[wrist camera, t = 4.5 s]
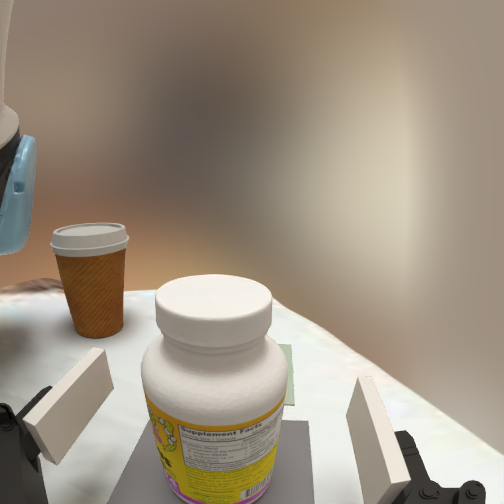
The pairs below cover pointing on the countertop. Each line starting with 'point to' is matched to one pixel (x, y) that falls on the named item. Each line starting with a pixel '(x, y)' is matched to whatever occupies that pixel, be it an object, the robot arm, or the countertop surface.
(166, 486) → the mat
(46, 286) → the countertop surface
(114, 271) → the disposable coffee cup
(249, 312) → the supplement bottle
